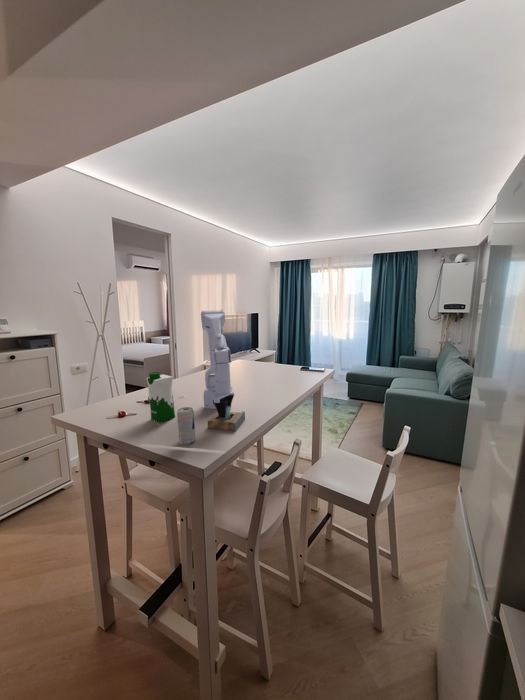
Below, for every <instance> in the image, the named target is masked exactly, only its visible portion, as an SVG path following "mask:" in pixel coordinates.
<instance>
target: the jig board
mask: <svg viewBox="0 0 525 700" xmlns="http://www.w3.org/2000/svg"><path fill="white" fill-rule="evenodd" d="M240 413H241V414H240V415H239V416H238V417H237V418H236V419H235V421H234V422H233V423H232V424H233V430H232V432H234V433H236V431H237V430H238V429H239V428H240V426H241V425H242V424H243V423H244V421H245V420H246V411H241V412H240Z"/></svg>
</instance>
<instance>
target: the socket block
mask: <svg viewBox="0 0 525 700" xmlns="http://www.w3.org/2000/svg"><path fill="white" fill-rule="evenodd" d="M216 411H217V410H216ZM240 414H241V412H236V411H235V412H234V411H230V420H221V419H220V417H219V415H218V411H217V412H215V413H214V414H213V415H212V416H211V417H210V418H209V419H207V429H213V430H214V429H215V430H226V431H233V424H232V423H233V422H234V421H235V419H236V418H237V417H238V416H239V415H240Z"/></svg>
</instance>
